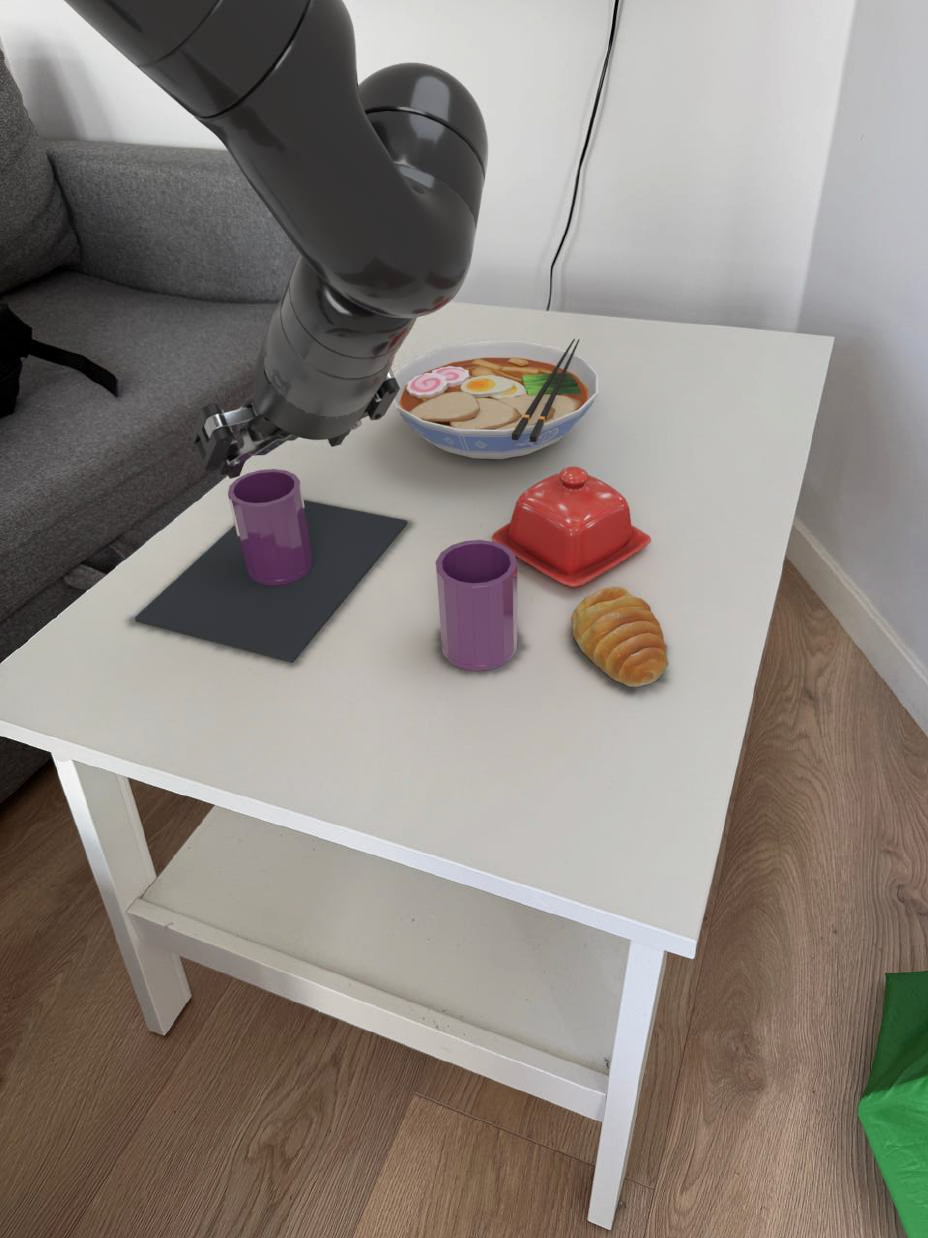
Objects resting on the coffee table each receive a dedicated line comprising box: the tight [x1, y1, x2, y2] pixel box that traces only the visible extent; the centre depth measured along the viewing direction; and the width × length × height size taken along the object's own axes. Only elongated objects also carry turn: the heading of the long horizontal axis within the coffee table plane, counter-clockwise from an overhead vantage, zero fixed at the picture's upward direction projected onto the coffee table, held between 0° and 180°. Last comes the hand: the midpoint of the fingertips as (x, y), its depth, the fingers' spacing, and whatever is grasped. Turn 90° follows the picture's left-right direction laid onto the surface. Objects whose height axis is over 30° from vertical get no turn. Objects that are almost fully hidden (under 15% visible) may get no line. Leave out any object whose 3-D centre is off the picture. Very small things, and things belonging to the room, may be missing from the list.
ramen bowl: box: [392, 338, 600, 460], centre depth 100 cm, size 25×23×8 cm
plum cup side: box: [435, 539, 518, 672], centre depth 73 cm, size 6×6×8 cm
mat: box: [134, 499, 408, 663], centre depth 85 cm, size 22×16×1 cm
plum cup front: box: [227, 468, 313, 586], centre depth 82 cm, size 6×6×8 cm
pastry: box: [570, 586, 669, 688], centre depth 73 cm, size 9×7×4 cm
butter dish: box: [490, 466, 652, 588], centre depth 83 cm, size 12×12×8 cm
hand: (280, 450), depth 71 cm, fingers open, 8 cm apart
